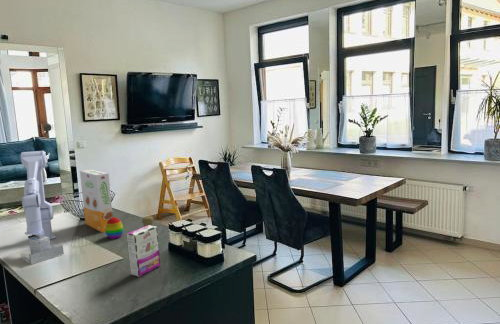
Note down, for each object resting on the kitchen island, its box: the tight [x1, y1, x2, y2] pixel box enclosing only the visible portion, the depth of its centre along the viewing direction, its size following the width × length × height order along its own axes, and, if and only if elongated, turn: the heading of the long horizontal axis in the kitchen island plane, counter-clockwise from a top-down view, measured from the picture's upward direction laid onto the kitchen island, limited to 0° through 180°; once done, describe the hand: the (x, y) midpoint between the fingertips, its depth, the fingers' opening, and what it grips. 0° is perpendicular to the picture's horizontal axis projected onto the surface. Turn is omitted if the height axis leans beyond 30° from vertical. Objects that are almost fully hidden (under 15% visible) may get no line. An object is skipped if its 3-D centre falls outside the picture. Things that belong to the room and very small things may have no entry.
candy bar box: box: [126, 225, 161, 278], centre depth 141 cm, size 11×5×16 cm, turn 148°
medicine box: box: [28, 236, 51, 254], centre depth 159 cm, size 8×4×9 cm, turn 62°
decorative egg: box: [105, 216, 124, 240], centre depth 181 cm, size 8×8×10 cm
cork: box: [141, 215, 154, 227], centre depth 176 cm, size 6×6×11 cm
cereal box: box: [79, 169, 113, 233], centre depth 197 cm, size 22×6×30 cm, turn 44°
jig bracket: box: [20, 244, 65, 266], centre depth 160 cm, size 12×13×4 cm
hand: (37, 250), depth 163 cm, fingers closed, pressing on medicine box
